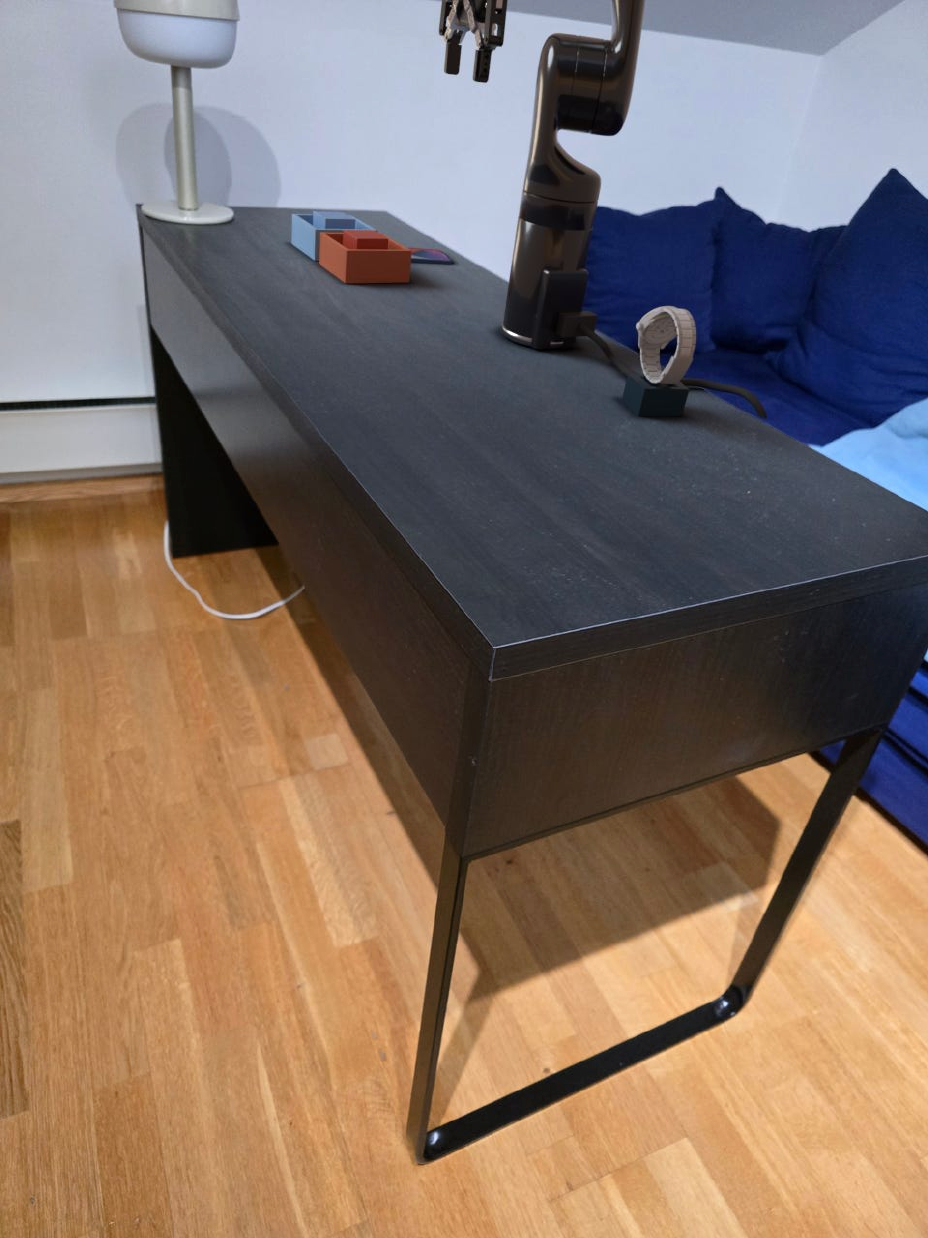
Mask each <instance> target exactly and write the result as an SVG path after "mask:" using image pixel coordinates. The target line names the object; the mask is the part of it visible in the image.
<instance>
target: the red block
mask: <svg viewBox="0 0 928 1238" xmlns="http://www.w3.org/2000/svg"><path fill="white" fill-rule="evenodd" d="M388 240H389V239H388V238H386V237H385V236H383V235H381V234H380V232H378V231H377V232H376V231H375V230H344V233H343V246H345V247H346V248H348V249H365V250H388Z"/></svg>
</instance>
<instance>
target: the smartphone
mask: <svg viewBox="0 0 928 1238" xmlns="http://www.w3.org/2000/svg"><path fill="white" fill-rule="evenodd" d="M407 248H408V249H410V250H411V251H412V253H411V264H413V263H414V264H435V265H437V264H438V265H452V263H453V259H452V258H451V257H449V256H448V255H447V254H446V253H444V252H443V250H439V249H433V248H418V247H407Z"/></svg>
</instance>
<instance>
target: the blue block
mask: <svg viewBox="0 0 928 1238" xmlns="http://www.w3.org/2000/svg"><path fill="white" fill-rule="evenodd" d="M312 214H313V226H314V227H316V228H317V229H355V219H354V218H352V217H351V216H349V215H350V214H347V213H346V212H343V211H322V210H319V211H318V210H313V211H312Z"/></svg>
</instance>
